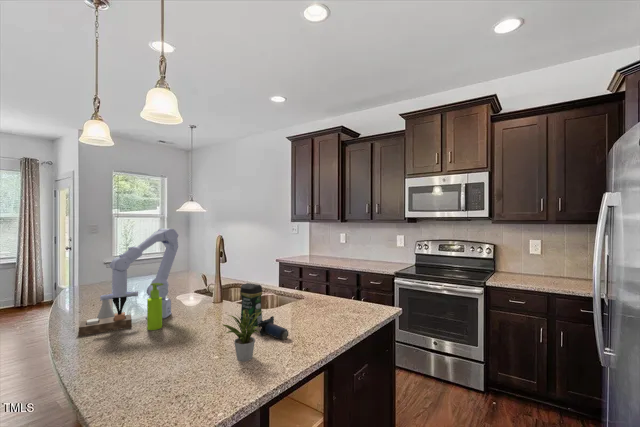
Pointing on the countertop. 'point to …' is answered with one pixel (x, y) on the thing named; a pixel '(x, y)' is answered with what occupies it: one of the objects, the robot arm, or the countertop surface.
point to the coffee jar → (251, 302)
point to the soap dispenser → (154, 309)
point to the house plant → (244, 337)
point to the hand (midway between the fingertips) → (119, 314)
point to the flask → (105, 310)
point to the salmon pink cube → (119, 316)
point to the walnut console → (105, 325)
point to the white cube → (92, 321)
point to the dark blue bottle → (272, 329)
